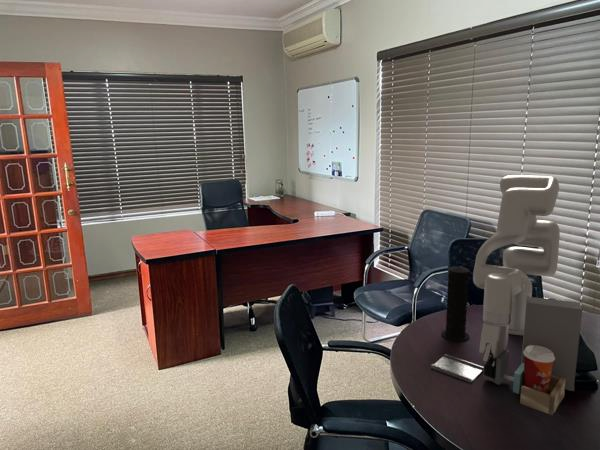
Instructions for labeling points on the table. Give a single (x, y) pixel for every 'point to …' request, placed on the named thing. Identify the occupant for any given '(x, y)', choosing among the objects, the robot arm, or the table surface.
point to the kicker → (503, 372)
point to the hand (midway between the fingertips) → (493, 372)
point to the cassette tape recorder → (554, 333)
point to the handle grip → (456, 305)
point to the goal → (545, 396)
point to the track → (458, 368)
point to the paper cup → (537, 367)
